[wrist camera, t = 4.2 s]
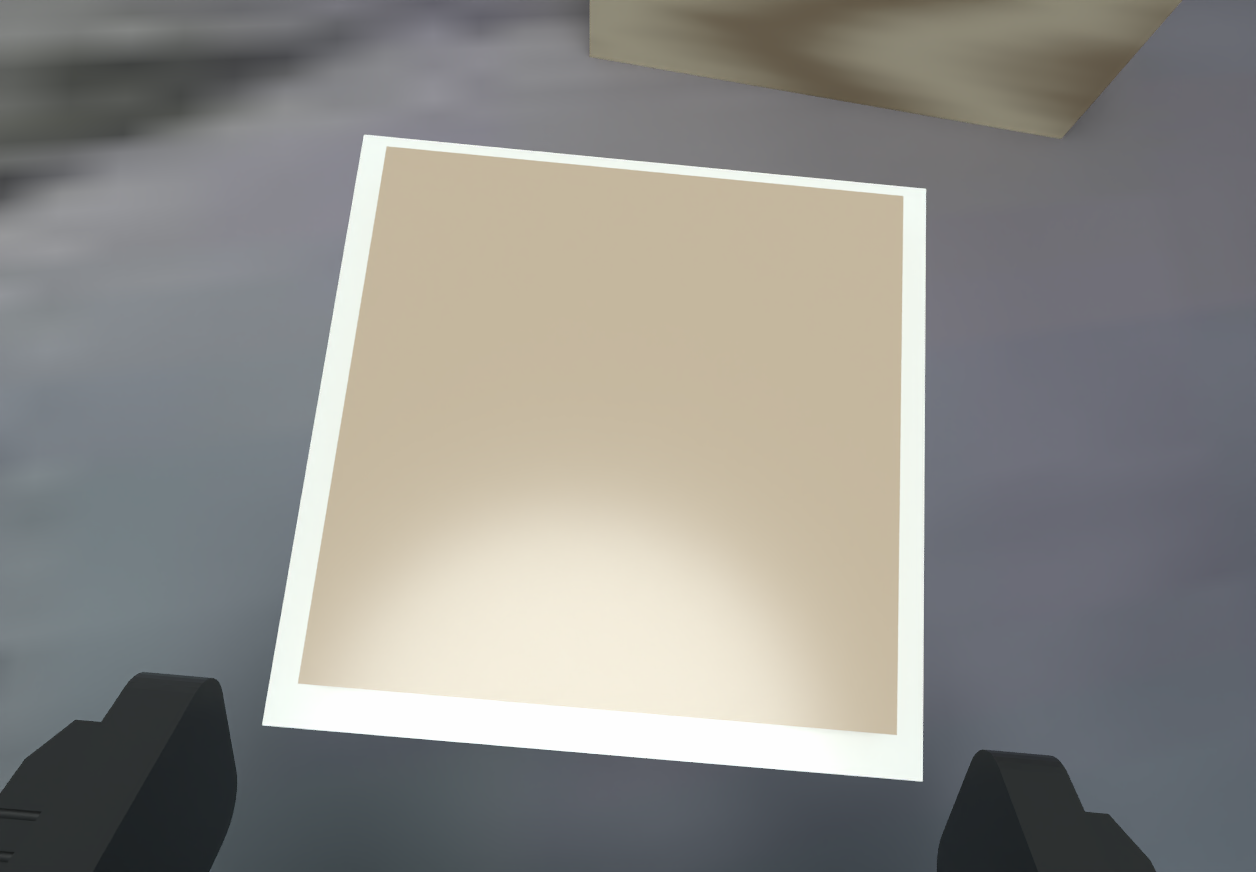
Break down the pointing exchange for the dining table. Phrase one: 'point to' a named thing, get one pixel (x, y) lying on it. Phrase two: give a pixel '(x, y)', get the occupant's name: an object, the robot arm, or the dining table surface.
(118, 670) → the dining table surface
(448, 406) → the white square container
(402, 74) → the dining table surface
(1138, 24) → the pale gold metal block
